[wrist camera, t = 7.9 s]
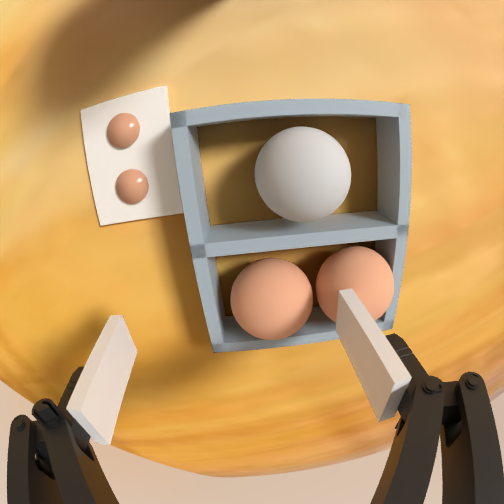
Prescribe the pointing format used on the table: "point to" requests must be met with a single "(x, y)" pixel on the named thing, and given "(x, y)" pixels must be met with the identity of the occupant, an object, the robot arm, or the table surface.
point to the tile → (132, 157)
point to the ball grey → (302, 174)
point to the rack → (287, 231)
